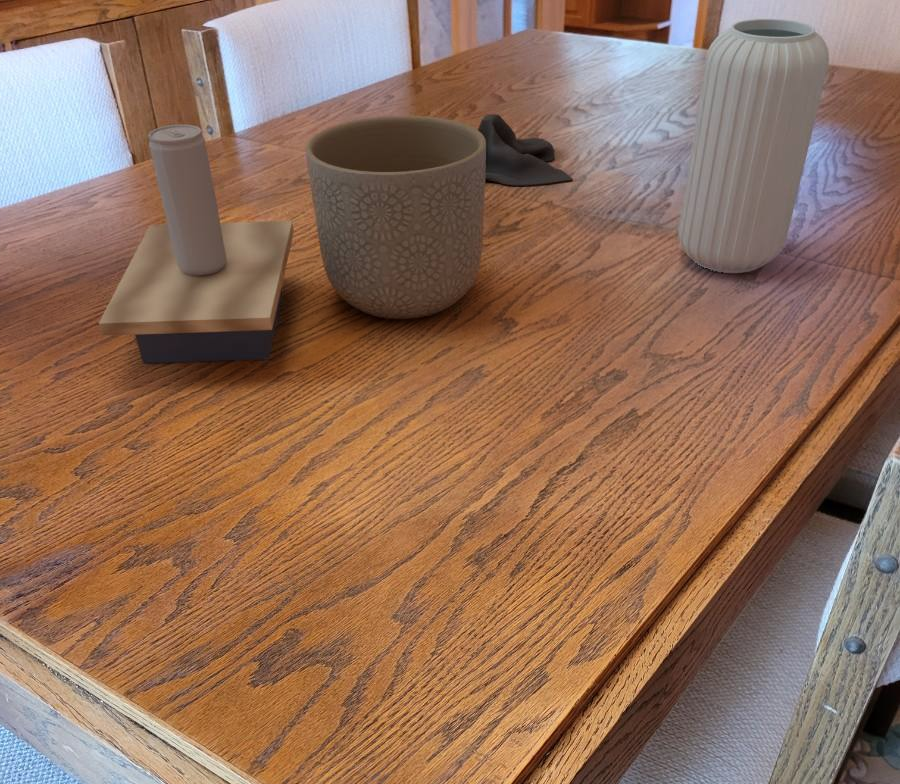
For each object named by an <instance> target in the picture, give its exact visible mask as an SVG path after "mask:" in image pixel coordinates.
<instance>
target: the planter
mask: <svg viewBox="0 0 900 784" xmlns="http://www.w3.org/2000/svg"><path fill="white" fill-rule="evenodd" d="M305 158H306V165H307V173H308V180H309V187H310V192H311V198H312V205H313V211H314V217H315V224H316V230H317V236H318V242H319V250H320V255H321V259H322V263H323V268H324V272H325V274H326V277H327V279H328V282H329V283H330V286H331V287H332V288H333V289H334V290H335V292H336V293H337V295H338V296H340V297H341V298H342V299H343V300H344V301H345V302H346V303H348V304H349V305H351V306H352V307H353V308H355V309H357V310H359V311H361V312H362V313H365V314H367V315H370V316H372V317H377V318H382V319H388V320H413V319H414V320H415V319H420V318H425V317H429V316H433V315H435V314H438V313H440V312H443V311H444V310H447V309H448V308H449V307H451V306H453V305H454V304H456V303H457V302H458V301H460V299H462V298H463V297H464V296H465V295H466V293H468V291H469V290H470V288H471V287H472V286H473V284H474V282H475V281H476V279H477V277H478V274H479V270H480V267H481V262H482V254H483V245H484V243H483V242H484V217H485V216H484V215H485V199H486V198H485V197H486V196H485V195H486V181H485V174H486V140H485V138H484V136H483V135H482V134H481V133H480V132H479V131H478V129H477V128H475V127H474V126H471V125H469V124H466V123H463V122H461V121H457V120H453V119H449V118H444V117H436V116H428V115H427V116H426V115H408V114H407V115H385V116H384V115H383V116H373V117H365V118H360V119H354V120H350V121H346V122H342V123H338V124H335V125H332V126H330V127H327V128H325V129H323V130H321V131H319V132H318V133H316V134H314V135H313V136H312V137H310V139H309V140H308V141H307V143H306V145H305Z"/></svg>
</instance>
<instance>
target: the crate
mask: <svg viewBox="0 0 900 784" xmlns="http://www.w3.org/2000/svg"><path fill="white" fill-rule="evenodd" d="M283 296H284V291H283V287H282V288H281V292H280V297H279V301H278V306H277V310H276V315H275V319H274V324H273V328H272V330H252V331H223V332H194V333H166V334H137V335H134V336H135V339H136V343H137V347H138V351H139V353H140V357H141V361H142V364H167V363H168V364H169V363H171V364H172V363H197V362H199V363H200V362H201V363H202V362H225V361H226V362H227V361H229V362H230V361H251V360H252V361H254V360H257V361H258V360H269V359H270V357H271V351H272V348H273V347H272V346H273V342H274V338H275V333H276V328H277V324H278V320H279V315H280V309H281V305H282V301H283Z"/></svg>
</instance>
